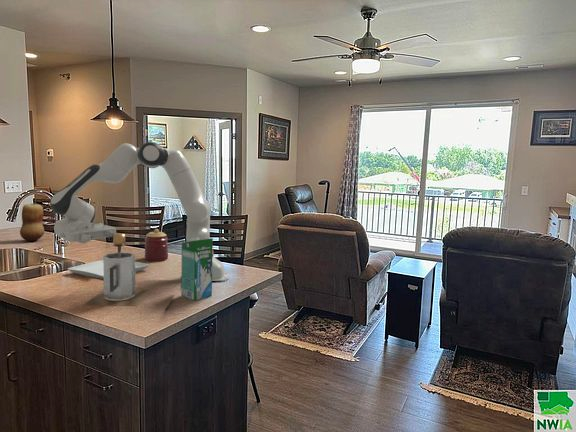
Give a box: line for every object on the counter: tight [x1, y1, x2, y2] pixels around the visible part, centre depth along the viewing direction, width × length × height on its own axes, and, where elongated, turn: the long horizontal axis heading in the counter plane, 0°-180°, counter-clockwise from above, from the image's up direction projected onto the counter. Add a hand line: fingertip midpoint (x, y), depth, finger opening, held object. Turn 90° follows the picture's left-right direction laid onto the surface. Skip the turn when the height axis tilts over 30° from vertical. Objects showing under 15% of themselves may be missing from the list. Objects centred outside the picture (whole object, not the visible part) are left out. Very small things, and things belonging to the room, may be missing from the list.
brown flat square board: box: [83, 288, 153, 307], centre depth 155 cm, size 20×20×2 cm
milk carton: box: [180, 237, 214, 302], centre depth 163 cm, size 9×9×25 cm
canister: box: [144, 228, 169, 262], centre depth 224 cm, size 13×13×18 cm
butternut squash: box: [19, 203, 45, 242], centre depth 260 cm, size 14×13×25 cm
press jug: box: [102, 252, 136, 302], centre depth 153 cm, size 11×14×17 cm
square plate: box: [67, 259, 150, 280], centre depth 194 cm, size 27×27×4 cm
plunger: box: [112, 233, 126, 258], centre depth 154 cm, size 8×8×24 cm
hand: (102, 236), depth 158 cm, fingers open, 8 cm apart
